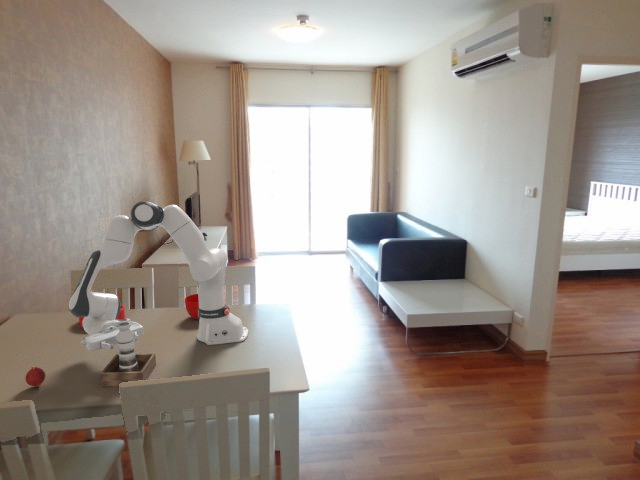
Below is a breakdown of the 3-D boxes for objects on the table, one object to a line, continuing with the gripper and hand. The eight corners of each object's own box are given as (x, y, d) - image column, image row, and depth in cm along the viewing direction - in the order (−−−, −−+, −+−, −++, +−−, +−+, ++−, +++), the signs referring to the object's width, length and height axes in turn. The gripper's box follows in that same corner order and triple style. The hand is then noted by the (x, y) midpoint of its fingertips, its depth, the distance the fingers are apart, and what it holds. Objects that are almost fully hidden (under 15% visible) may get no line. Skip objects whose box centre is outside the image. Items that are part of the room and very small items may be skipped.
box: (156, 365, 165) (155, 353, 164) (143, 385, 151) (142, 372, 150) (117, 366, 164) (116, 354, 163) (101, 386, 150) (99, 374, 148)
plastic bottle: (133, 379, 154) (128, 328, 150) (115, 378, 154) (110, 327, 150) (142, 370, 160) (137, 321, 156) (125, 369, 161) (120, 320, 156)
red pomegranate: (33, 382, 152) (30, 362, 151) (50, 381, 153) (47, 361, 151) (23, 391, 147) (20, 370, 145) (41, 390, 147) (37, 369, 145)
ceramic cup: (222, 311, 219) (221, 293, 217) (200, 323, 204) (199, 304, 202) (202, 307, 224) (201, 289, 222) (180, 319, 209) (178, 300, 207)
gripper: (78, 333, 156) (93, 344, 147) (132, 317, 171) (149, 326, 163) (80, 349, 157) (95, 360, 149) (133, 331, 173) (151, 341, 164)
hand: (124, 342), depth 156 cm, fingers open, 8 cm apart
